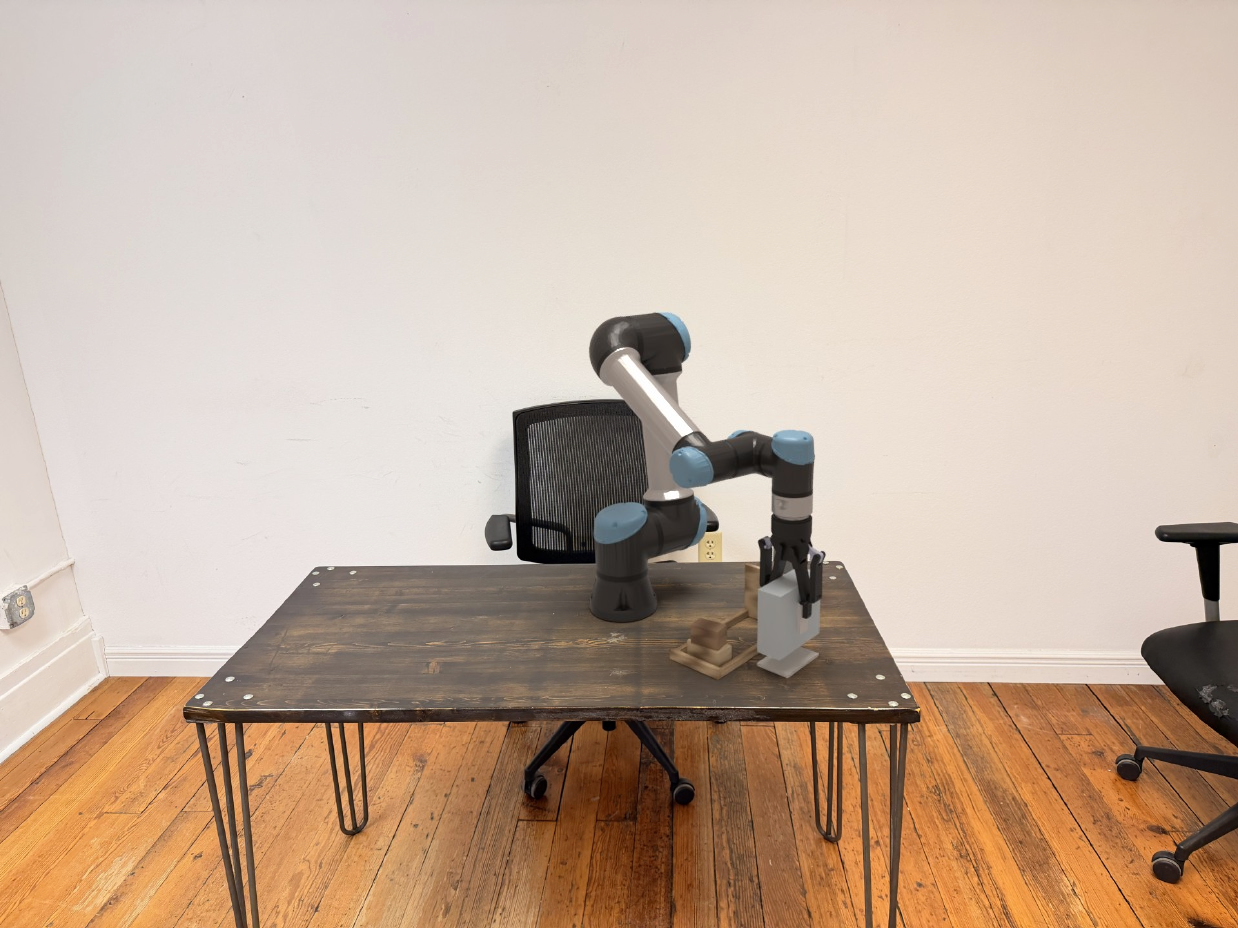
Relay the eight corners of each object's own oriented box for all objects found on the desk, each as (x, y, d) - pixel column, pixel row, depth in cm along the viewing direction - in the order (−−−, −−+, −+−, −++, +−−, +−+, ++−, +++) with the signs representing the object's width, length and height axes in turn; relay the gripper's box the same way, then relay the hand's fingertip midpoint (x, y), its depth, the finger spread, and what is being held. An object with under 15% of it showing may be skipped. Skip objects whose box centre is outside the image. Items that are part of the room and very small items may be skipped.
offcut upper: (690, 642, 161) (690, 624, 160) (699, 635, 164) (699, 617, 163) (717, 650, 158) (717, 632, 157) (726, 643, 160) (726, 624, 159)
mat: (756, 665, 159) (756, 662, 159) (788, 644, 167) (788, 641, 167) (787, 678, 154) (787, 675, 154) (818, 655, 162) (818, 653, 162)
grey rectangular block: (757, 651, 156) (757, 589, 153) (797, 625, 166) (798, 566, 162) (779, 660, 153) (780, 596, 149) (819, 633, 162) (821, 572, 159)
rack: (670, 658, 163) (669, 603, 160) (747, 613, 181) (747, 562, 177) (718, 679, 155) (718, 622, 151) (793, 629, 172) (795, 577, 169)
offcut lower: (687, 657, 163) (687, 639, 162) (700, 650, 166) (700, 632, 165) (718, 672, 158) (718, 653, 157) (731, 664, 160) (731, 645, 159)
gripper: (740, 509, 156) (739, 620, 162) (824, 530, 143) (820, 649, 150) (762, 499, 161) (761, 607, 167) (845, 518, 148) (841, 634, 155)
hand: (789, 626), depth 158 cm, fingers closed on grey rectangular block, 5 cm apart
